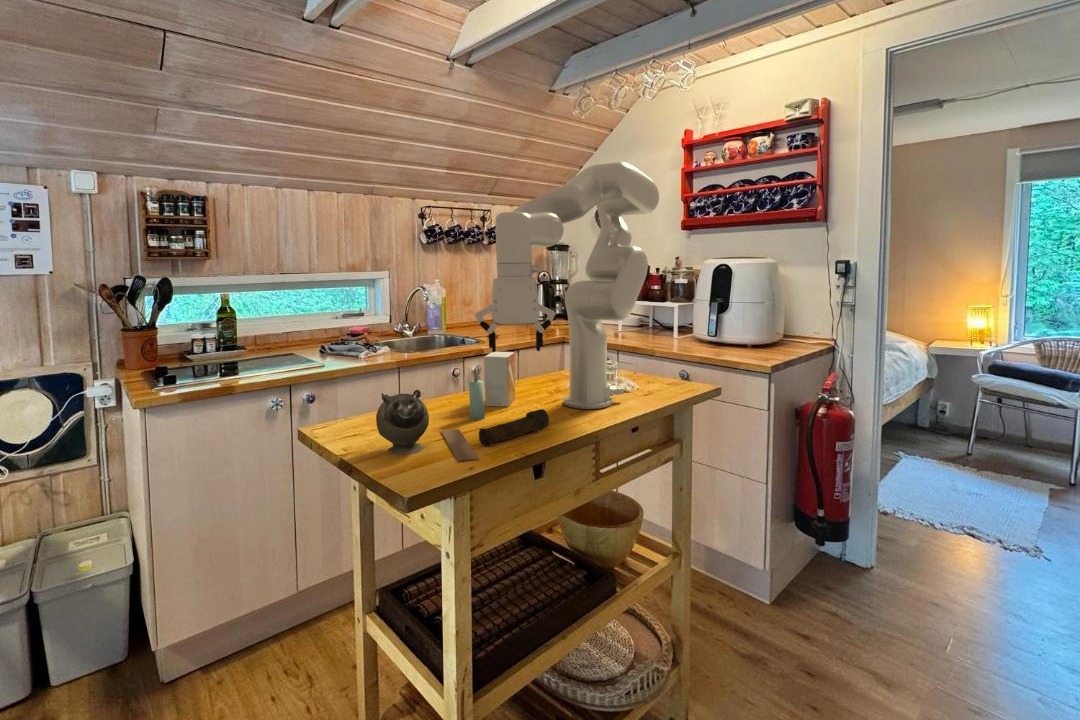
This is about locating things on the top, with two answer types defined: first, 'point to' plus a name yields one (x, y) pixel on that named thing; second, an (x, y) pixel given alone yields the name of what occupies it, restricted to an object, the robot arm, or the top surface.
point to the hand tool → (514, 428)
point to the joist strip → (459, 445)
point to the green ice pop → (476, 398)
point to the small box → (499, 378)
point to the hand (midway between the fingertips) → (516, 350)
